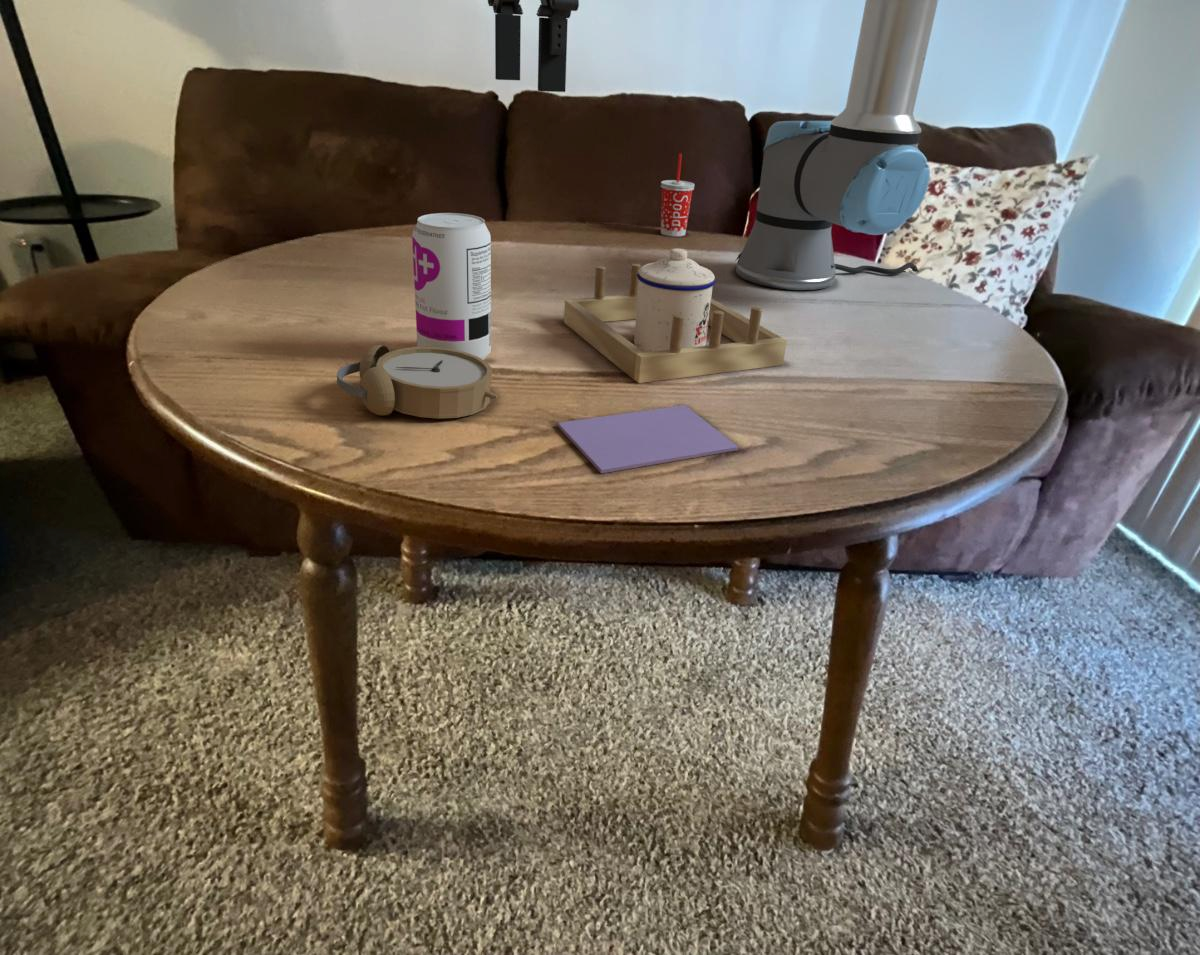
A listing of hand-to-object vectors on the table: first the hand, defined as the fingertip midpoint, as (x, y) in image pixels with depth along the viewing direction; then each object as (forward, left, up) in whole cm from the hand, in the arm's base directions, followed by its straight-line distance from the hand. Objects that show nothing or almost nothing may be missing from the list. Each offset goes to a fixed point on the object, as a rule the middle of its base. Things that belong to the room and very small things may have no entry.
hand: (528, 85), depth 91 cm
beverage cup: (-46, -45, -28) cm, 70 cm away
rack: (-16, +8, -28) cm, 33 cm away
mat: (-1, +31, -28) cm, 42 cm away
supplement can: (+10, +5, -28) cm, 30 cm away
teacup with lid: (-16, +8, -28) cm, 33 cm away
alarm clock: (+17, +16, -28) cm, 37 cm away
